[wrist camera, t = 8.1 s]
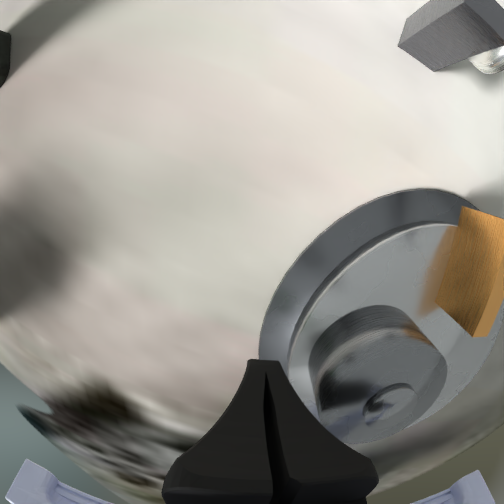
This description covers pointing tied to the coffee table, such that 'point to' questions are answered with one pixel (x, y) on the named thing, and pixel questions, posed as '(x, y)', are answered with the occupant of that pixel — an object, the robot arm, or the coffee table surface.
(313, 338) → the turntable
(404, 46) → the grey cube on chrome
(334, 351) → the cover
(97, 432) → the coffee table surface
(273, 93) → the coffee table surface
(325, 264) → the turntable base
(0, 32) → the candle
